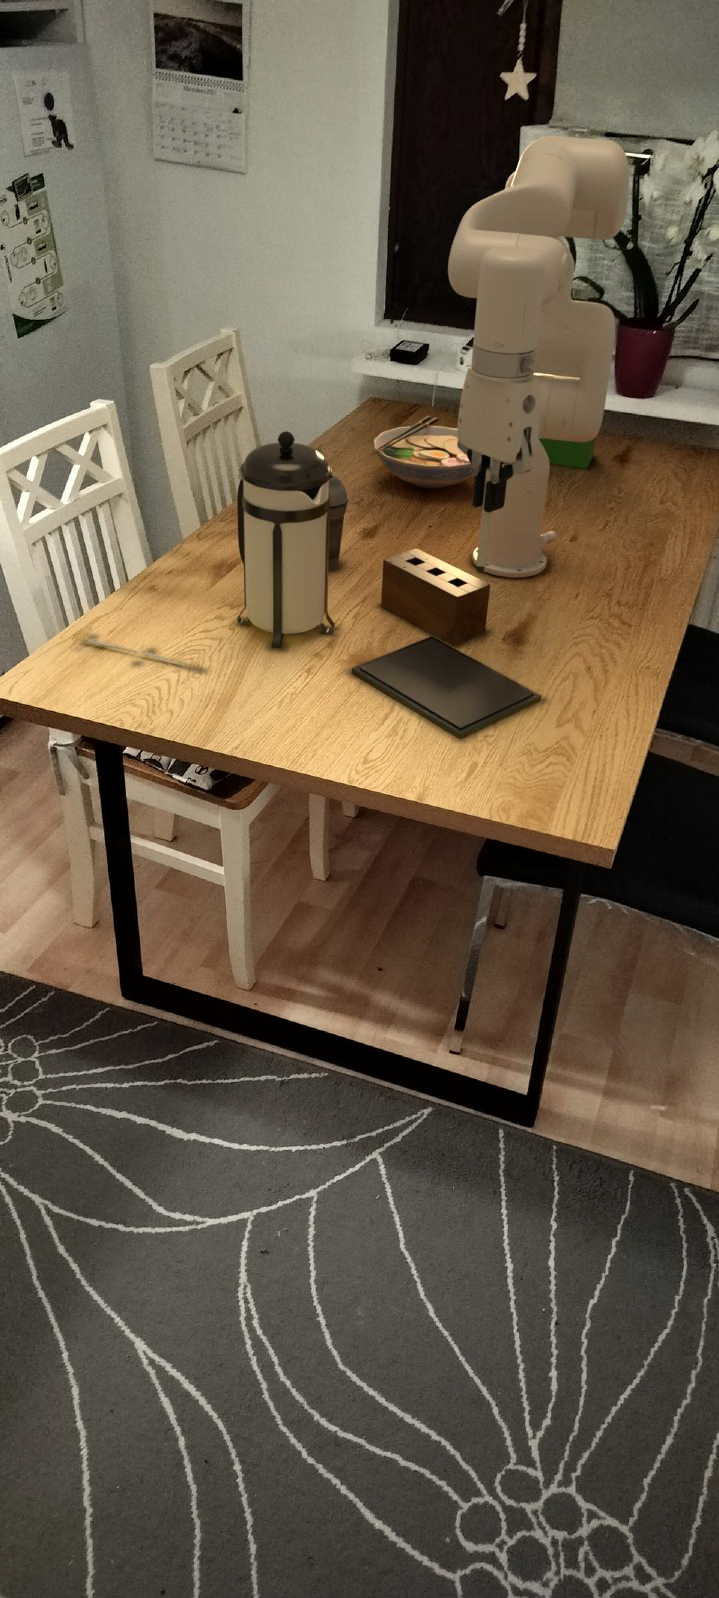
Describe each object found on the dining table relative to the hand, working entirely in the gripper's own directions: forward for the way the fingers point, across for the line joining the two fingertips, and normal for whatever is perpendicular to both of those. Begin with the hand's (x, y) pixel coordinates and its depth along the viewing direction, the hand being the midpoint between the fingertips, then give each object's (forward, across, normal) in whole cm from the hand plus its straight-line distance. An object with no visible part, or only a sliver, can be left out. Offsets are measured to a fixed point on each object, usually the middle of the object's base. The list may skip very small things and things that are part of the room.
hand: (488, 506), depth 153 cm
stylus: (+27, +35, +32) cm, 54 cm away
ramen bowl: (+28, +60, -50) cm, 83 cm away
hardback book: (+28, +55, -80) cm, 101 cm away
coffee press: (+27, +31, +10) cm, 42 cm away
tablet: (+27, +2, +3) cm, 27 cm away
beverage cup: (+27, +43, -9) cm, 52 cm away
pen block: (+27, +18, -10) cm, 34 cm away
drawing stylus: (+9, 0, 0) cm, 9 cm away
